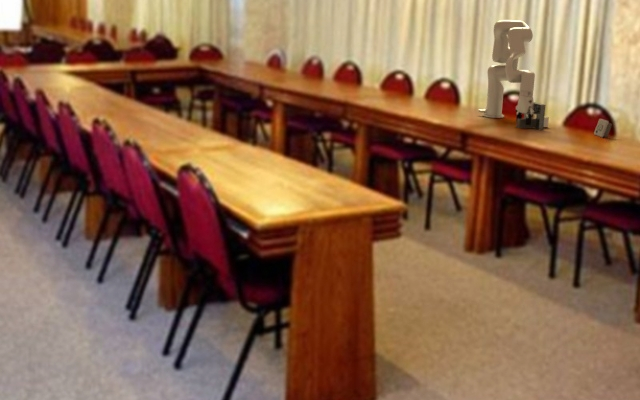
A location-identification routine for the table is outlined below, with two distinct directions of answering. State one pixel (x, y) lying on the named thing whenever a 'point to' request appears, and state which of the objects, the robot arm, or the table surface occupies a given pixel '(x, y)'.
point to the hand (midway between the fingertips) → (523, 123)
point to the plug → (522, 122)
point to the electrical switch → (602, 128)
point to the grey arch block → (538, 115)
